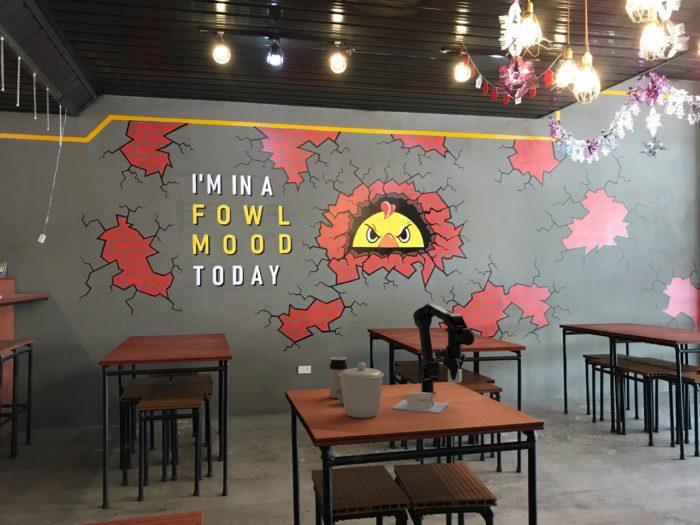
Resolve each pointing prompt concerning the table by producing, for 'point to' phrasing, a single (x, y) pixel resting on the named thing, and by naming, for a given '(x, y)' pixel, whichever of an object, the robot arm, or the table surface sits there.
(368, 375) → the canister
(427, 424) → the table surface
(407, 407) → the board
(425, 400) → the birch brick
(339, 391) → the cupcake
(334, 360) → the travel mug
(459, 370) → the sage cube
